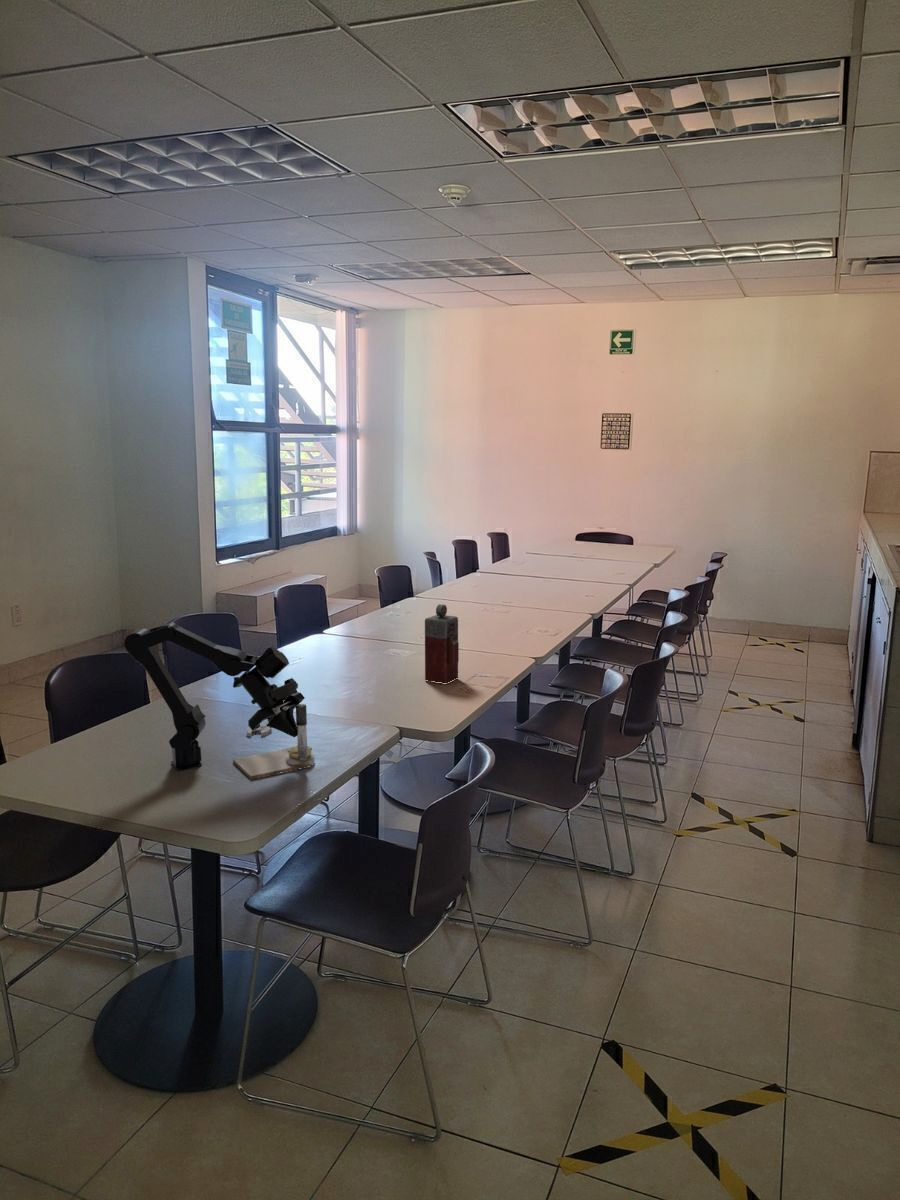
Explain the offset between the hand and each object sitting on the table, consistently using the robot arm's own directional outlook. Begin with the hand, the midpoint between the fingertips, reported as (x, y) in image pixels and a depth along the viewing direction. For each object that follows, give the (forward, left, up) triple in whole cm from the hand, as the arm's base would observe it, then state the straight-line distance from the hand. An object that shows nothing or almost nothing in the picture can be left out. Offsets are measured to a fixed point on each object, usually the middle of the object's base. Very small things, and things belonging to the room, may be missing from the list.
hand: (297, 735), depth 221 cm
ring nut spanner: (+2, +3, -7) cm, 8 cm away
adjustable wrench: (+9, +40, -10) cm, 42 cm away
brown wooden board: (-3, +8, -10) cm, 13 cm away
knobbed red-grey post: (+79, +52, -10) cm, 95 cm away
